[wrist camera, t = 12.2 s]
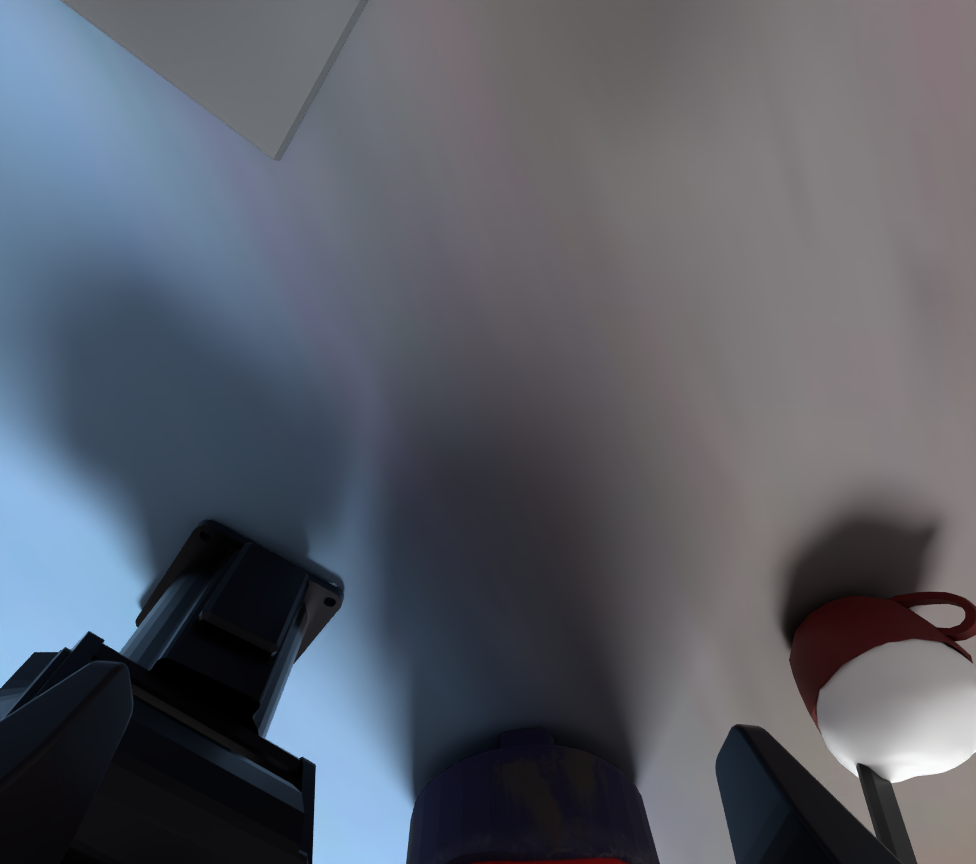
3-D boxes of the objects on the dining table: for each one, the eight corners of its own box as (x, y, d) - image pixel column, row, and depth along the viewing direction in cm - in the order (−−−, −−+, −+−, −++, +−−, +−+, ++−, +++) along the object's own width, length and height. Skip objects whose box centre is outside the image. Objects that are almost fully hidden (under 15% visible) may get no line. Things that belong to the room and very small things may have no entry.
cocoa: (907, 537, 24) (1308, 826, 12) (945, 636, 26) (1319, 961, 14) (703, 636, 25) (895, 974, 14) (754, 722, 27) (958, 1077, 16)
